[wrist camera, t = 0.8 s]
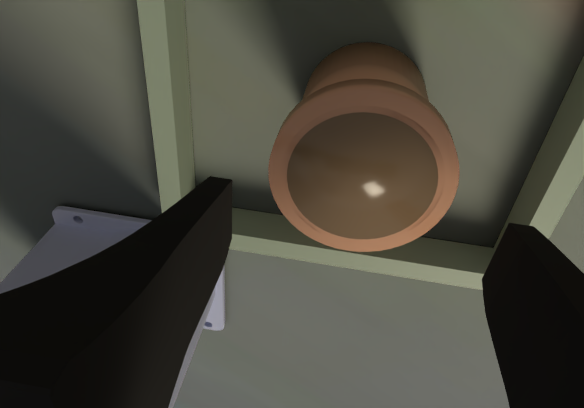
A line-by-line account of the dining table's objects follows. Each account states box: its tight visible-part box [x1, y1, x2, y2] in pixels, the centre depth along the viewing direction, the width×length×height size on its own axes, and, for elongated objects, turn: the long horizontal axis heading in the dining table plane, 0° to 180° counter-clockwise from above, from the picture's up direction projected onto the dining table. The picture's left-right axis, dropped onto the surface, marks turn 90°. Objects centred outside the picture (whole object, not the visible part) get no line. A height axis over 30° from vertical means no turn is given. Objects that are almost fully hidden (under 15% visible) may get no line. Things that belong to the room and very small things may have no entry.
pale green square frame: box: [137, 0, 584, 290], centre depth 18 cm, size 17×15×2 cm
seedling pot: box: [269, 42, 459, 252], centre depth 16 cm, size 6×6×6 cm
